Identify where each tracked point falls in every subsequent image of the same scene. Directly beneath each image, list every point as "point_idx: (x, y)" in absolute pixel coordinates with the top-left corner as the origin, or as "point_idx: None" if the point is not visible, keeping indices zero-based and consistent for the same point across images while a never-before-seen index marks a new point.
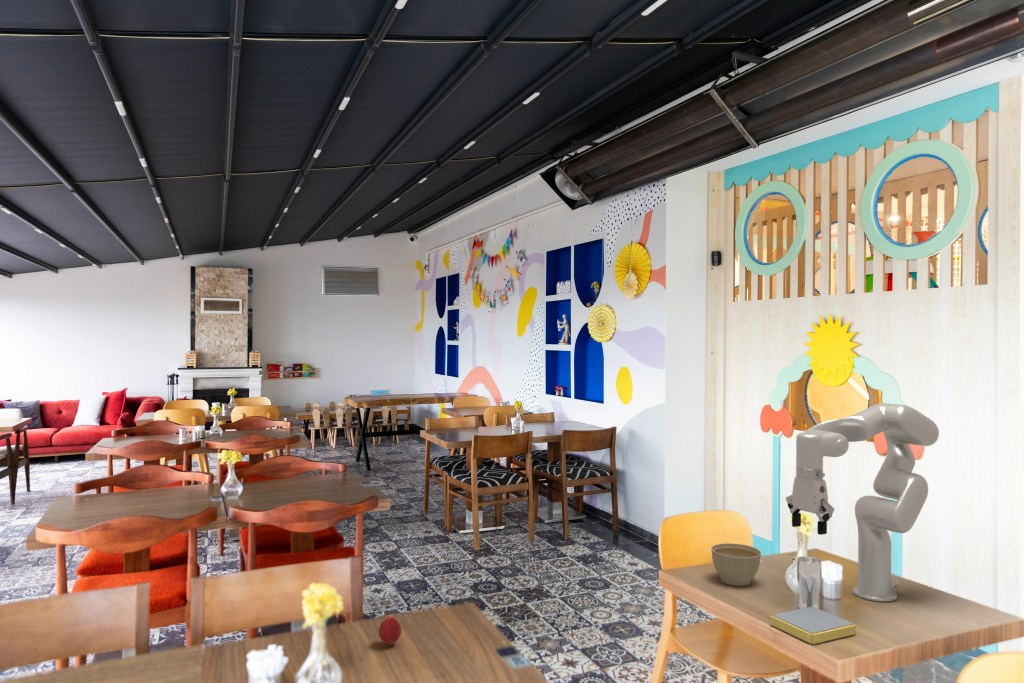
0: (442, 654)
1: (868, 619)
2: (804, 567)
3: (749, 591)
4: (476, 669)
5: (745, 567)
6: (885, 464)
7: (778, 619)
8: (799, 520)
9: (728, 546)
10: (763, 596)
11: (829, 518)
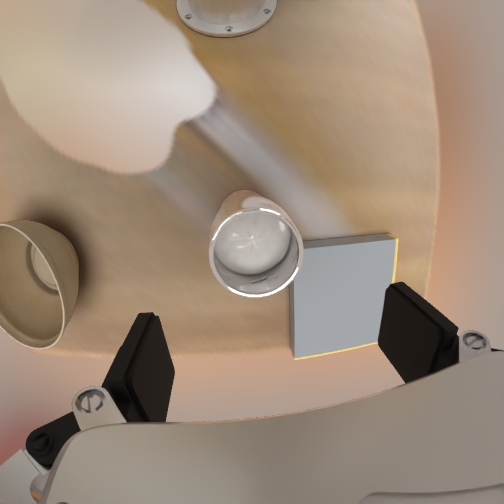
0: None
1: (344, 133)
2: (271, 285)
3: (107, 271)
4: None
5: (74, 297)
6: None
7: (312, 356)
8: (151, 354)
9: None
10: (141, 262)
11: (496, 350)
